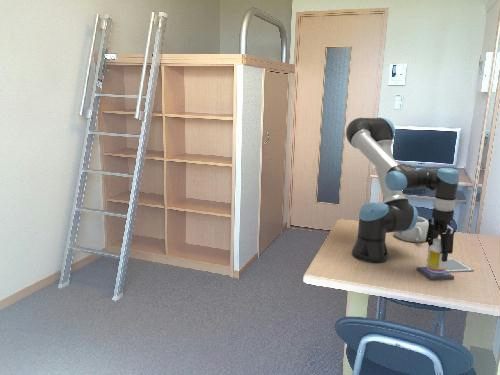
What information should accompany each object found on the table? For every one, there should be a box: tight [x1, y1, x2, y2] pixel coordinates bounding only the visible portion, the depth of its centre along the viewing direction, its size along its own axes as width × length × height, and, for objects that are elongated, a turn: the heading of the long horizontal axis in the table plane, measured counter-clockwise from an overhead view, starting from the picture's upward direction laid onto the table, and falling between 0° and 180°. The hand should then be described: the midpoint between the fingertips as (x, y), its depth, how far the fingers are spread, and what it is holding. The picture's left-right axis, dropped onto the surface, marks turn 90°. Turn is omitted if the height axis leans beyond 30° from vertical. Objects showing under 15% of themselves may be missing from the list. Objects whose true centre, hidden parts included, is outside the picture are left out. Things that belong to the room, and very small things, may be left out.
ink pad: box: [415, 266, 455, 281], centre depth 170 cm, size 10×10×2 cm
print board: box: [445, 257, 475, 273], centre depth 180 cm, size 13×13×1 cm
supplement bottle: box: [426, 237, 445, 274], centre depth 169 cm, size 7×7×13 cm
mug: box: [393, 215, 429, 243], centre depth 211 cm, size 21×17×10 cm
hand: (436, 264), depth 169 cm, fingers closed on supplement bottle, 7 cm apart
